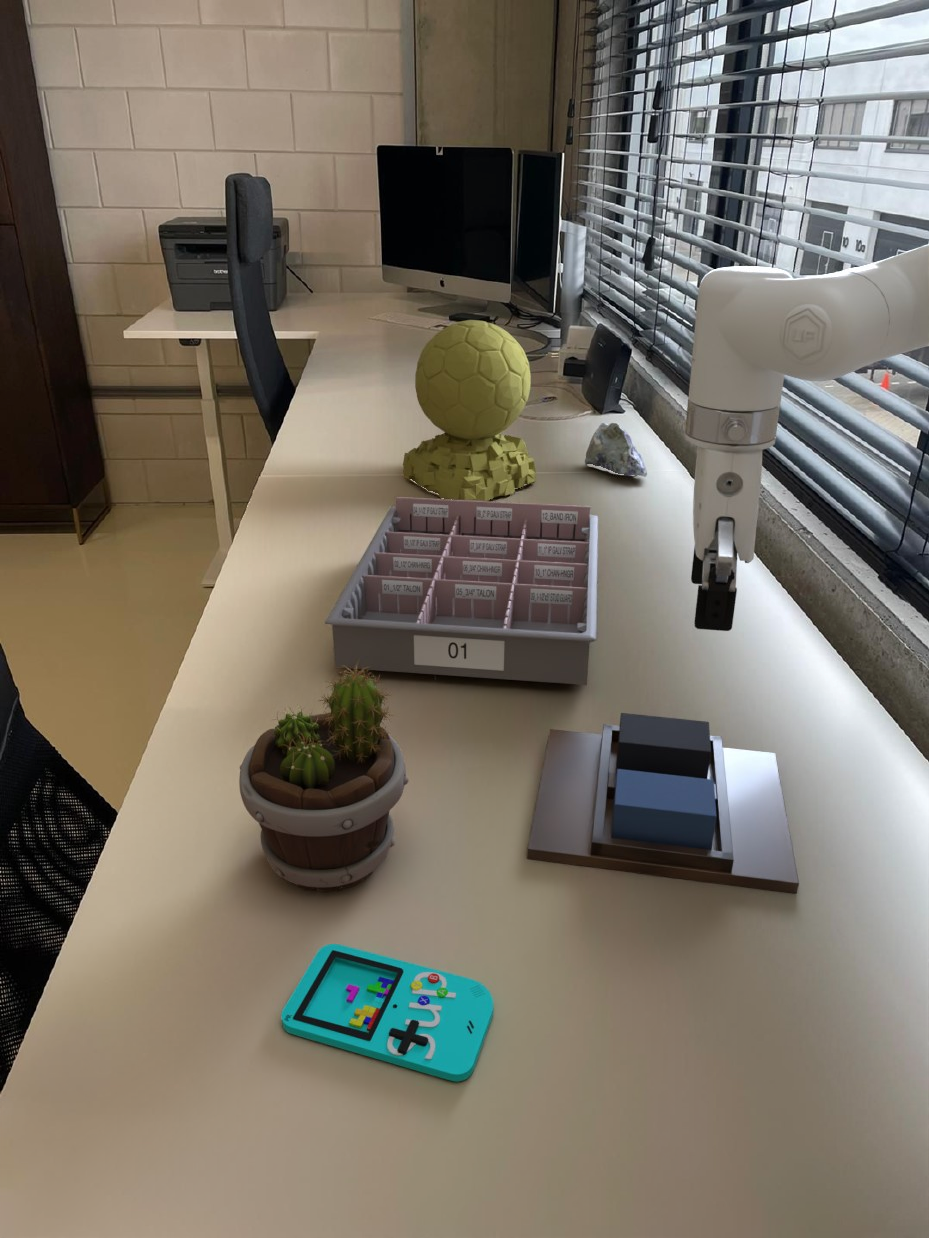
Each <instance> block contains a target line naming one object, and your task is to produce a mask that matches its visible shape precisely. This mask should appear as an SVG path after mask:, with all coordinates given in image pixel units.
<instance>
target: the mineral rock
mask: <svg viewBox="0 0 929 1238" xmlns="http://www.w3.org/2000/svg"><path fill="white" fill-rule="evenodd" d="M585 463H586V464H593V465H595V466H601V467H603V468H606V469H608V470H611V471H613V472H615V473H618V474H624V475H625V476H627V475H639V476H638V477H644V478H645V477H648V470H647V468H646V466H645V463H644V459H643V457H642V455H641V453H639V451H638V450H637V449H636V446H635V445H634V443H633V441H632V438H631V436H630V435H629V434H628V432H627V431H626V430H625V429H624V428H623V427H621V426H620V424H619V423H618V422H610V423H609V424H608V423H605V422H602V423H601V424H599V426H598V428H597V429H596V430H595V431H594V433H593V435H592V437H591V439H590V441H589V444H588V447H587V449H586V452H585V459H584V464H585Z"/></svg>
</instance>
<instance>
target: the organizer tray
mask: <svg viewBox="0 0 929 1238" xmlns="http://www.w3.org/2000/svg"><path fill="white" fill-rule="evenodd" d="M591 509H592V508H591V506H590V505H573V504H572V505H571V504H570V505H569V504H549V503H531V502H530V503H529V502H526V503H525V502H512V501H511V502H507V501H491V500H488V501H469V500H449V499H440V498H427V497H426V498H425V497H407V496H404V497H403V496H395V505H390V507H389V509H388V511H387V512H386V514H385V516H384V518H383V519H382V521H381V523H380V525H378V526H379V527H378V528H377V530H376V532H375V533H374V535H373V537H372V539H371V541H370V542H369V543H368V545H367V548H365V551H364V553H363V555H362V556H361V558H360V560H359V562H358V563H357V565H356V567H355V568H354V570H353V572H352V574H351V575H350V577H349V579H348V581H347V583H346V585H345V586H344V588H343V590H342V592H341V594H339V596H338V599H336V602H335V604H334V606H332V607H333V608H332V609H331V611H330V612H329V615H328V616H327V618H326V619H325V621H324V624H325V625H328V626H331V627H332V629H331V630H332V644H333V659H334V668H338V669H346V668H345V667H344V666H346V667H347V666H348V668H349V669H353V670H354V668H355V666H356V663H357V662H358V660H359V659H360V660H359V662H358V665H357V670H362V668H363V669H364V668H366V667H368V668H366V669H364V670H365V671H367V670H368V669H370V670H368V671H381V672H395V673H411V674H425V675H438V676H455V677H467V678H468V677H469V678H482V679H497V680H508V681H509V680H512V681H525V682H540V683H553V684H554V683H555V684H568V685H583V686H587V685H588V673H589V671H588V670H589V659H590V646H591V645H590V643H592V642H593V643H594V642H597V637H598V636H597V633H598V631H597V629H598V628H597V627H598V626H597V625H598V623H597V622H598V621H597V620H598V561H599V560H598V559H599V558H598V553H599V552H598V550H599V516H598V515H592V514H591ZM363 664H364V665H363ZM342 665H343V666H342ZM369 666H370V667H369ZM436 679H437V678H436V677H434V680H436Z"/></svg>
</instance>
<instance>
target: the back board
mask: <svg viewBox="0 0 929 1238" xmlns="http://www.w3.org/2000/svg"><path fill="white" fill-rule="evenodd" d="M619 728H620V725H615V724H614V725H613V724H605V723H603V725H602V732H601V733H602V734H600V733H591V732H583V731H572V730H564V729H554V728H549V732H548V739H547V744H546V749H545V754H544V759H543V763H542V764H543V765H542V770H541V775H540V780H539V785H538V790H537V795H536V800H535V801H536V802H535V806H534V813H533V818H532V823H531V827H530V832H529V838H528V843H527V849H526V859H528V860H536V861H542V862H544V861H545V862H551V863H558V864H566V865H573V866H575V865H576V866H581V867H582V866H583V867H589V868H597V869H599V868H600V869H605V870H612V871H621V872H628V873H636V874H642V875H643V874H644V875H649V876H650V875H651V876H658V877H666V878H674V879H683V880H689V881H697V882H706V883H713V884H721V885H728V886H736V887H744V888H750V889H751V888H752V889H759V890H766V891H774V892H782V893H790V894H797V893H798V890H799V885H800V881H799V876H798V871H797V865H796V859H795V854H794V849H793V843H792V838H791V832H790V826H789V821H788V814H787V810H786V805H785V800H784V793H783V788H782V783H781V782H782V781H781V777H780V771H779V766H778V761H777V754H776V752H769V751H760V750H750V749H740V748H731V747H724V746H723V745H724V744H723V737H722V736H719V735H710V743H711V757H710V764H709V770H708V777H707V779H711V780H714V790H715V803H716V816H717V817H716V823H715V829H714V836H713V842H712V848H711V850H706V849H698V848H690V847H682V846H674V845H666V844H658V843H650V842H642V841H634V840H626V839H618V838H611V834H612V821H613V807H614V796H615V786H616V776H617V773H616V763H617V749H618V738H619Z"/></svg>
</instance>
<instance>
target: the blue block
mask: <svg viewBox="0 0 929 1238" xmlns="http://www.w3.org/2000/svg"><path fill="white" fill-rule="evenodd" d="M716 817H717V816H716V803H715V790H714V780H711V779H703V778H694V777H685V776H676V775H667V774H658V773H649V772H641V771H632V770H623V769H617V776H616V786H615V796H614V807H613V821H612V834H611V838H618V839H626V840H634V841H642V842H650V843H658V844H666V845H674V846H682V847H690V848H698V849H706V850H711V848H712V842H713V836H714V829H715V823H716Z"/></svg>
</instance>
